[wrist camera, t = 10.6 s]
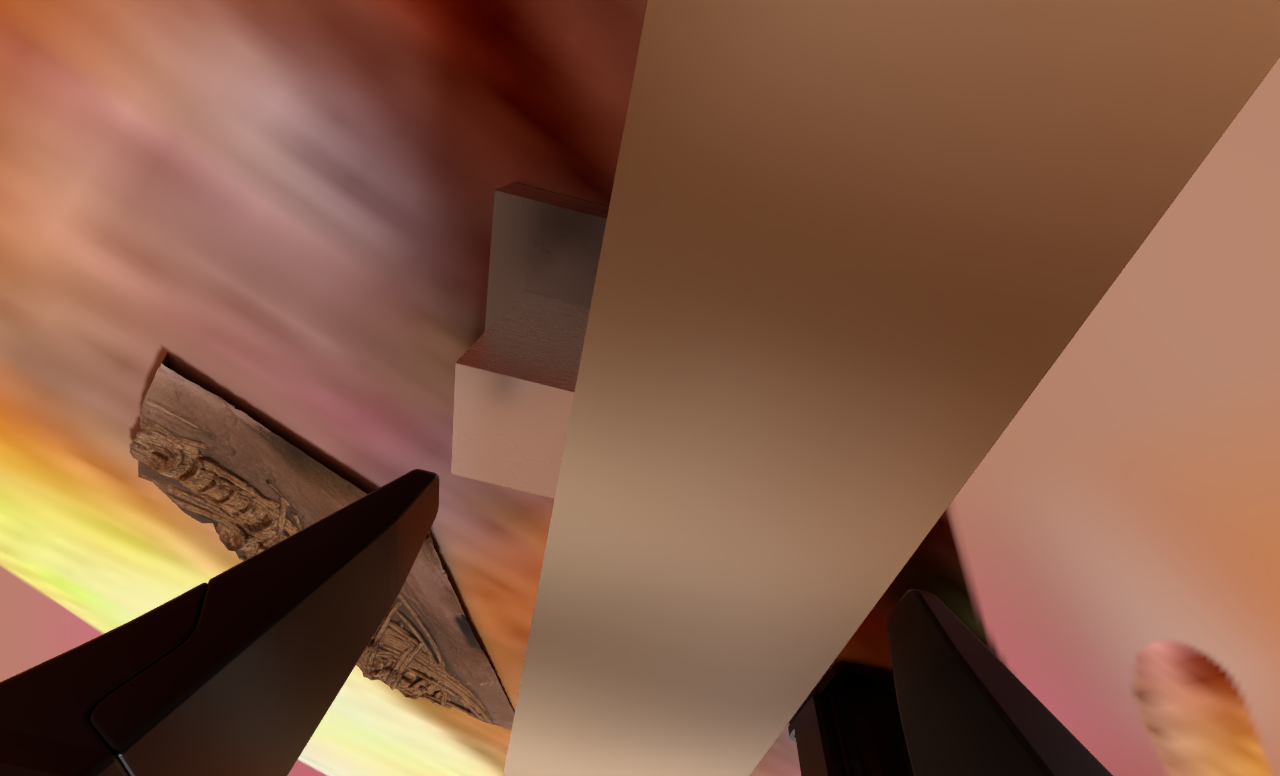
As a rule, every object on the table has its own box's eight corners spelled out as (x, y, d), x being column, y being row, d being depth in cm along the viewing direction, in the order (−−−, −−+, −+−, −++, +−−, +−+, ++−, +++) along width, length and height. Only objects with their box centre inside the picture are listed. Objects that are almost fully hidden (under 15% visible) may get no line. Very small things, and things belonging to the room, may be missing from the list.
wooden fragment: (73, 394, 20) (43, 408, 19) (274, 308, 17) (250, 319, 16) (426, 731, 31) (418, 750, 30) (584, 713, 28) (580, 733, 28)
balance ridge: (921, 287, 14) (1046, 391, 9) (811, 491, 18) (856, 643, 13) (513, 182, 14) (405, 228, 9) (492, 412, 18) (410, 537, 13)
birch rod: (663, 708, 16) (651, 908, 12) (538, 678, 16) (485, 870, 12) (995, 6, 7) (1414, -127, 3) (702, -74, 7) (710, -332, 3)
